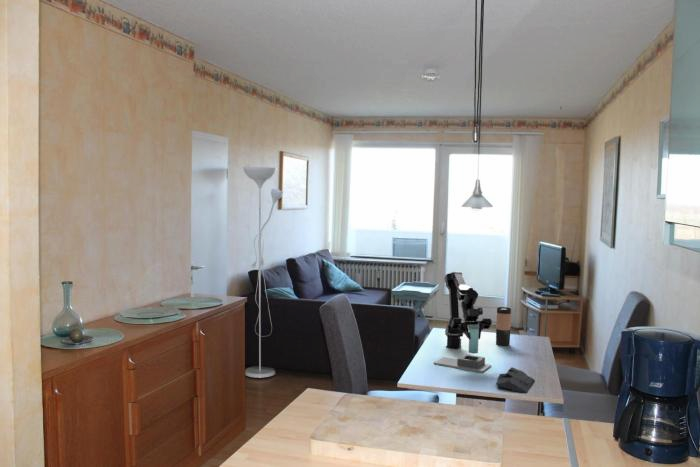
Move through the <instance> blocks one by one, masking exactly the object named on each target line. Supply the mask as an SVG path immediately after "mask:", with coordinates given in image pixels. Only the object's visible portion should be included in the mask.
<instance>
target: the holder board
mask: <svg viewBox="0 0 700 467" xmlns="http://www.w3.org/2000/svg"><path fill="white" fill-rule="evenodd" d="M433 364H434V365H437V366H441V367H442V366H443V367H447V366H448V367H449V368H454V369H459V370H465V371H470V372H476V373H481V374H483V373H484V372H486V371H487V370H489V369H490V368H491V367H492V365H491V364H487V363H486V358H485V356H478V355H474V354H467V353H465V354H464V353H463V354H462V355H461V356H460V357H458V358H452V357H445V356H442V357H441V358H439V359H437V360H436V361H434V362H433ZM448 367H447V368H448Z"/></svg>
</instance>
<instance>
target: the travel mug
mask: <svg viewBox="0 0 700 467" xmlns="http://www.w3.org/2000/svg"><path fill="white" fill-rule="evenodd" d="M511 324H512V308H510V307H505V306H500V307H499V306H498V307H497V308H496V324H495V326H496V327H495V344H496V345H497V346H500V347H508V346H510V345H511V344H510V341H511V329H512V328H511V327H512V326H511Z"/></svg>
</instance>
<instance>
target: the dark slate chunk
mask: <svg viewBox="0 0 700 467" xmlns="http://www.w3.org/2000/svg"><path fill="white" fill-rule="evenodd" d="M496 381H497V382H496V383H495V384H496V386H497V387H498V388H499V389H505V390H509V391H513V392H517V393H523V394H527V393H528V392H529V391H530V390H531V388H532V387H533V386H534V383H535V382H536V380H535V379H534V378H533V377H531V376H529V375H528V374H526V373H525V372H524V371H523V370H520V369H517V368H516V367H513V366H512V367H510V368H509V369H508V371H507V372H506V373H500V374H499V375H498V378H497V380H496Z"/></svg>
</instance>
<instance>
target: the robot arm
mask: <svg viewBox="0 0 700 467" xmlns="http://www.w3.org/2000/svg"><path fill="white" fill-rule="evenodd" d="M444 283H445V287H446V288H447V289H448V294H449V295H448V296H449V319H448V321H447V324H446V328H445V329H444V330H445V331H444V335H445V336H446V339H447V340H446V345H445V348H447V347H449V348H448V349H456V350H458V349H460V348H461V347H462V338H463V336H464V335H465V336H466V338H467V339H468V340H469V339H470V334H469V324H477V325H479V339H478V340H480V339H481V335H482V331H483V330H489V329H490V328H491V326H492V324H493V321H492V319H491V318H490V317H489V318H488V317H483V318H482V319H481V320H478V319H479V317H480V316H481V315H483V314H484V310H483V307H477V308H475V305H476V302H477V299H478V297H479V293H478V292H477V291H476V290H475V289H474V288H473V287H471V286H468V285H467V284H466V282H465V280H464V277H463V273H462V271H452V272H449V273H446V274H445V276H444ZM459 301H461V302H460V305H461V310H462V317H460V313H459V312H460V311H459V310H460V309H459ZM462 318H463V319H462ZM461 337H462V338H461Z"/></svg>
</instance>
